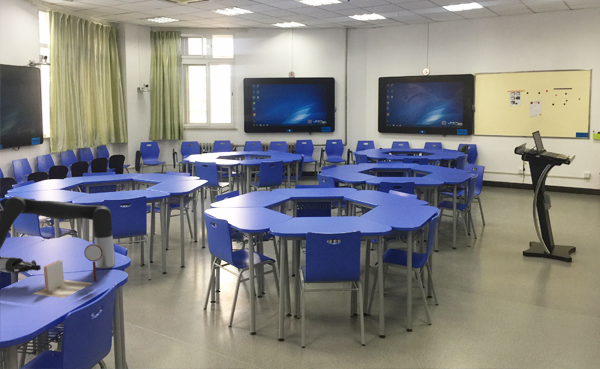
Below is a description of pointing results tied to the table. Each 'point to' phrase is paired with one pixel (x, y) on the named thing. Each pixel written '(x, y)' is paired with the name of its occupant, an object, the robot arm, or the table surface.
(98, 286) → the table surface
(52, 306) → the table surface
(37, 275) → the table surface
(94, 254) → the magnifying glass
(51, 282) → the tile
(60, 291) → the board
